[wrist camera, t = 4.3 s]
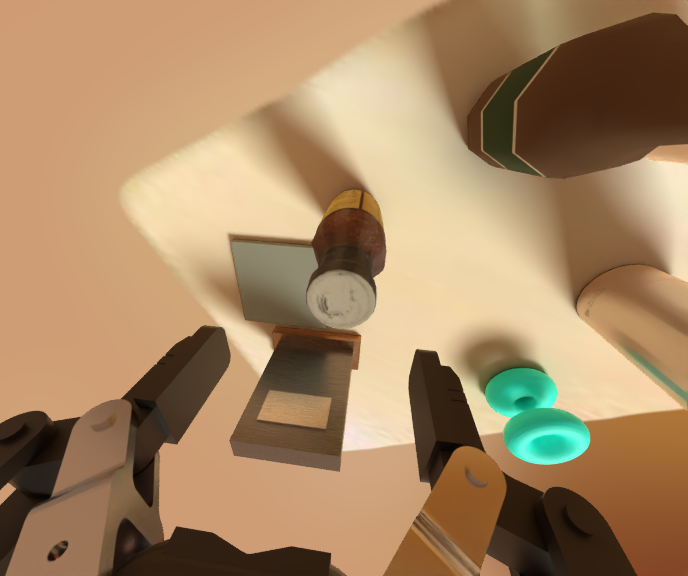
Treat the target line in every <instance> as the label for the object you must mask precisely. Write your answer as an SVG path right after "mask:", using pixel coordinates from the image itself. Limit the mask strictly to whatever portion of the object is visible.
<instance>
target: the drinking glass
mask: <svg viewBox="0 0 688 576" xmlns="http://www.w3.org/2000/svg"><path fill="white" fill-rule="evenodd" d="M645 157H647V158H648V159H651V160H654V161H660V162H674V163H680V164H686V165H688V144H682V145H666V146H658V147H657V148H655V149H654V150H653V151H651V152H650V153H648V154H647V155H646V156H645Z"/></svg>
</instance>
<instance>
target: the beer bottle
mask: <svg viewBox="0 0 688 576" xmlns="http://www.w3.org/2000/svg"><path fill="white" fill-rule="evenodd" d="M682 144H688V26H687V25H686V24H685V23H684V22H683V21H682V20H681V19H680V18H679V17H678V16H677V15H674V14H661V13H651V14H648V15H645V16H641V17H638V18H635V19H632V20H629V21H626V22H623V23H620V24H617V25H614V26H611V27H608V28H605V29H602V30H599V31H596V32H593V33H590V34H586V35H583V36H581V37H578V38H576V39H573V40H571V41H568V42H566V43H563V44H561V45H559V46H557V47H555V48H553V49H551V50H549V51H548V52H546V53H544V54H542V55H540V56H538V57H536V58H535V59H533V60H531V61H529V62H527V63H525V64H523V65H522V66H520V67H518V68H516V69H514V70H512V71H510V72H509V73H507V74H505V75H503V76H501V77H499V78H498V79H496V80H495V81H493V82H492V83H491V84H490V85H489V86H488V88H487V89H486V91H485V92H484V94H483V95H482V96H481V98H480V99H479V101H478V102H477V103H476V105H475V106H474V108H473V109H472V111H471V112H470V113H469V115H468V149H469V150H471V151H472V152H473V153H475V154H476V155H477V156H479V157H480V158H482V159H483V160H484V161H486V162H487V163H488V164H490V165H492V166H494V167H498V168H503V169H507V170H512V171H517V172H522V173H527V174H532V175H537V176H542V177H546V178H563V179H565V178H569V177H574V176H578V175H583V174H587V173H592V172H596V171H600V170H605V169H609V168H614V167H618V166H622V165H625V164H628V163H631V162H634V161H637V160H640V159H641V158H643V157H644V156H646V155H647V154H648V153H650V152H651V151H653V150H654V149H655V148H657V147H658V146H666V145H682Z"/></svg>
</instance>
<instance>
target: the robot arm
mask: <svg viewBox="0 0 688 576" xmlns="http://www.w3.org/2000/svg"><path fill="white" fill-rule="evenodd" d="M577 312H578V314H579V316H580V318H581V319H582V320H583V321H585V322H586V323H587V324H588V325H589V326H590V327H591V328H593V329H594V330H595V331H596V332H597V333H598V334H599V335H601V336H602V337H603V338H604V339H605V340H606V341H607V342H608V343H610V344H611V345H612V346H613V347H614V348H615V349H617V350H618V351H619V352H620V353H621V354H622V355H623V356H625V357H626V358H627V359H628V360H629V361H630V362H631V363H633V364H634V365H635V366H636V367H637V368H638V369H640V370H641V371H642V372H643V373H644V374H645V375H646V376H648V377H649V378H650V379H651V380H652V381H653V382H654V383H656V384H657V385H658V386H659V387H660V388H661V389H663V390H664V391H665V392H666V393H667V394H668V395H669V396H671V397H672V398H673V399H674V400H675V401H676V402H677V403H679V404H680V405H681V406H682V407H683V408H684V409H686V410H687V411H688V283H687V282H685V281H682V280H680V279H678V278H676V277H674V276H671V275H669V274H667V273H665V272H663V271H660V270H658V269H656V268H654V267H651V266H647V265H639V264H636V265H626V266H622V267H618V268H615V269H612V270H610V271H607V272H606V273H604V274H602V275H600V276H598V277H597V278H596V279H594V280H593V281H591V282H590V283H589V284H588V285H587V286H586V287H585V288H584V290H583V291H582V293H581V294H580V296H579V298H578V301H577ZM229 363H230V350H229V346H228V342H227V338H226V334H225V330H224V329H223V328H222V327H215V326H206V325H204V326H202V327H200V329H198V330H197V331H196V333H195V334H194V335H193V336H192V337H191V336H188V337H187V338H185V339H183V340H182V341H180V342H178V343H177V344H175V345H174V346H173V347H172V348H171V349H170V350H169V351H168V352H167V353H166V356H163V357H162V358H161V359H160V360H159V361H158V362H157V365H154V367H152V368H151V369H150V370H149V371H148V372H147V373H146V375H144V377H142V378H141V379H140V381H138V382H137V383H136V384H135V385H134V386H133V387H132V388H131V390H129V391H128V393H126V394H125V395H124V396H123V397H122V398H121V399H116V400H111V401H107V402H104V403H102V404H100V405H98V406H96V407H94V408H92V409H91V410H89V411H88V412H87V413H85V414H84V415H83V416H82V417H77V418H71V419H65V420H58V421H52V420H51V419H50V418H49V417H48V416H47V414H46V413H44V412H42V411H31V412H27V413H23V414H20V415H17V416H14V417H12V418H10V419H8V420H6V421H4V422H2V423H1V424H0V490H1V489H2V488H3V487H4V486H5V485H6V484H7V483H10V484H11V485H12V486H13V487H15V488H16V490H15V491H14V492H13V493H12V494H11V495H10V496H9V497H8V498H7V499H6V500H5V501H4V502H3V503H2V504H1V505H0V576H346V575H345V574H344V573H343V572H342V571H341V570H339V569H338V568H336V567H335V566H333V565H331V553H327V552H321V551H315V550H310V549H304V548H298V547H292V546H291V547H286V548H281V549H275V550H270V551H265V552H259V553H254V554H246V553H244V552H242V551H240V550H239V549H237V548H236V547H234V546H233V545H231V544H230V543H228V542H227V541H225V540H223V539H222V538H220V537H219V536H217V535H216V534H214V533H211V532H206V531H200V530H194V529H188V528H182V527H176V528H175V530H174V532H173V534H172V536H171V538H170V539H168V540H165V541H164V533H163V527H162V523H161V520H160V516H159V463H160V461H159V460H160V456H159V452H158V450H159V449H160V447H161V446H162V444H163V443H171V444H178V442H179V441H180V439H181V438H182V436H183V434H184V433H185V432H186V430H187V429H188V427H189V425H190V424H191V422H192V421H193V419H194V418H195V416H196V415H197V413H198V412H199V410H200V409H201V407H202V406H203V404H204V403H205V401H206V400H207V398H208V397H209V395H210V394H211V392H212V391H213V389H214V388H215V386H216V385H217V383H218V382H219V380H220V379H221V377H222V376H223V374H224V372H225V371H226V370H227V368H228V366H229ZM409 397H410V405H411V413H412V421H413V429H414V437H415V444H416V452H417V459H418V468H419V476H420V482H427V483H430V486H431V493H430V495H429V497H428V499H427V500H426V502H425V504H424V506H423V508H422V509H421V511H420V513H419V515H418V516H417V517H416V519H415V520H414V522H413V523H412V525H411V527H410V529H409V530H408V532H407V534H406V536H405V538H404V540H403V541H402V543H401V545H400V546H399V549H398V550H397V552H396V554H395V555H394V557H393V559H392V561H391V563H390V565H389V566H388V568H387V570H386V571H385V573H384V575H383V576H480V570H481V567H482V564H483V561H484V558H485V555H486V554H488V555H490V556H491V557H493V558H495V559H497V560H498V561H500V562H502V563H503V564H505V565H507V566H509V570H510V573H511V576H637V574H636V573H635V571H634V569H633V567H632V565H631V564H630V562H629V560H628V559H627V556H626V555H625V553H624V551H623V549H622V547H621V546H620V544H619V542H618V540H617V539H616V537H615V535H614V533H613V532H612V530H611V528H610V526H609V525H608V523H607V521H606V520H605V519H604V517H603V516H602V515H601V514H600V513H599V511H598V510H597V509H596V508H595V507H594V506H593V505H591V503H589V502H588V501H587V500H586V499H584V498H583V497H581V496H580V495H578V494H577V493H575V492H573V491H571V490H569V489H566V488H562V487H552V488H549V489H548V490H547V491H546V492H545V493H543V492H541V491H539V490H537V489H535V488H533V487H530V486H528V485H526V484H524V483H522V482H520V481H517V480H515V479H514V478H512V477H510V476H508V475H507V474H505V473H504V472H503V471H501V469H500V468H499V466H498V465H497V463H496V462H495V461H494V460H493V459H492V458H491V457H490V456H489V455H487V454H486V452H485V450H484V448H483V445H482V443H481V440H480V437H479V434H478V431H477V428H476V425H475V422H474V419H473V417H472V414H471V411H470V408H469V405H468V404H467V399H466V396H465V393H463V388H462V385H461V382H460V379H459V377H458V376H457V375H456V374H455V372H454V371H453V370H452V369H451V367H450V366H441V364H440V361H439V357H438V354H437V352H436V351H429V350H419V349H417V350H416V351H415V355H414V359H413V363H412V367H411V371H410V375H409Z"/></svg>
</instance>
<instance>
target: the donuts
mask: <svg viewBox="0 0 688 576" xmlns="http://www.w3.org/2000/svg"><path fill="white" fill-rule="evenodd" d="M485 395H486V400H487V402H488V404H489V405H490V406H491V407H492V408H493V409H494V410H495V411H496V412H498V413H500V414H502V415H504V416H507V417H511V419H510V420H509V421H508V422H507V424H506V426H505V428H504V431H503V438H504V442H505V445H506V446H507V448H508V449H509V451H511V453H513V454H514V455H515V456H517V457H518V458H520V459H522V460H524V461H527V462H530V463H536V464H556V463H562V462H566V461H569V460H572V459H574V458H576V457H578V456H579V455H581V454H582V453H583V452H584V451H585V450H586V449H587V448H588V445H589V443H590V433H589V431H588V428H587V427H586V425H585V424H584V423H583V422H582V421H581V420H580V419H579V418H578V417H576V416H575V415H573V414H571V413H569V412H566V411H564V410H560V409H555V408H551V407H552V405H553V404H554V403H555V401H556V398H557V388H556V385H555V383H554V382H553V380H552V379H551V378H550V377H549V376H548V375H546V374H545V373H543V372H541V371H538V370H535V369H530V368H514V369H509V370H506V371H503V372H501V373H499V374H498V375H496V376H495V377H493V378H492V379H491V380H490V382H489V383H488V385H487V387H486V391H485Z"/></svg>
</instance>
